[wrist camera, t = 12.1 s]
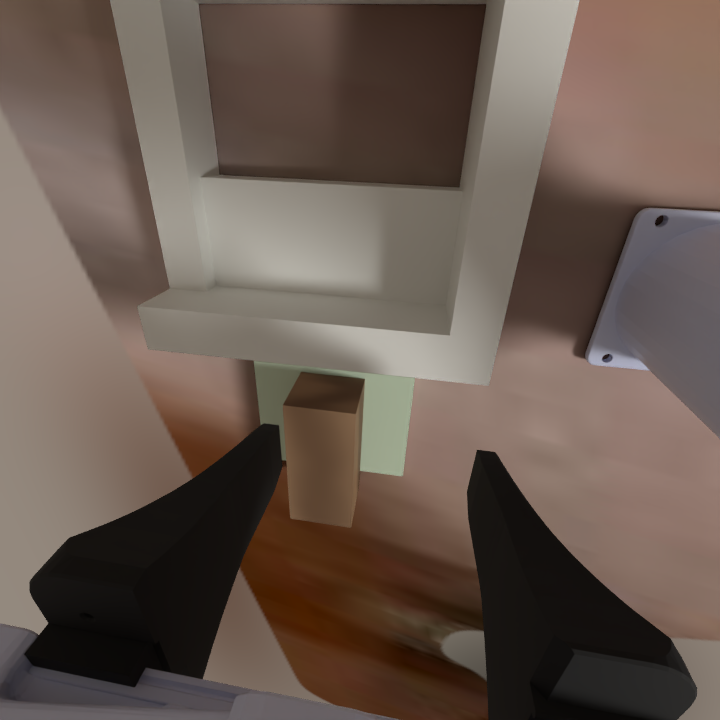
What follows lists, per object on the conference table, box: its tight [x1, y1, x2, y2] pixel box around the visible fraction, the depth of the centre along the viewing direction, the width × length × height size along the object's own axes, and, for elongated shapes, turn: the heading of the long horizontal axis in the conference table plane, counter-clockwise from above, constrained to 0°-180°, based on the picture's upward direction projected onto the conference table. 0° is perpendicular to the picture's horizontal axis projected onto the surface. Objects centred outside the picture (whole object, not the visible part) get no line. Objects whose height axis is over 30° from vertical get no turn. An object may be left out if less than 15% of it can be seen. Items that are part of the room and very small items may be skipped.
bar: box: [283, 372, 365, 528], centre depth 24 cm, size 4×9×4 cm, turn 178°
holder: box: [110, 0, 579, 386], centre depth 16 cm, size 16×16×6 cm
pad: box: [254, 361, 415, 476], centre depth 26 cm, size 10×8×1 cm
